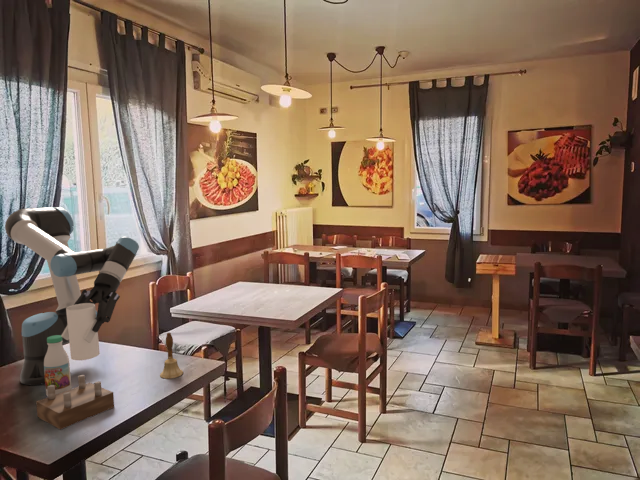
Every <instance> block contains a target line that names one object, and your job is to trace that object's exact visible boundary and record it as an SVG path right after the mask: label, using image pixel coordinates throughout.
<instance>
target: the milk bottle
mask: <svg viewBox="0 0 640 480" xmlns="http://www.w3.org/2000/svg"><path fill="white" fill-rule="evenodd" d="M62 342H63V341H62V337H61V335H54V336H50V337H48V338H47V344H48V350H47V353H46V355H45V358H44V375H45V384H44V387H45V394H46V396H47V397H48V390H47V387H48V386H50V385H55V395H56V394H59V393H61V392H64V391H67V390H70V389H72V378H71V367H70V358H69V355H68V352H67V351H66V350H65V348H64V345H62Z"/></svg>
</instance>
